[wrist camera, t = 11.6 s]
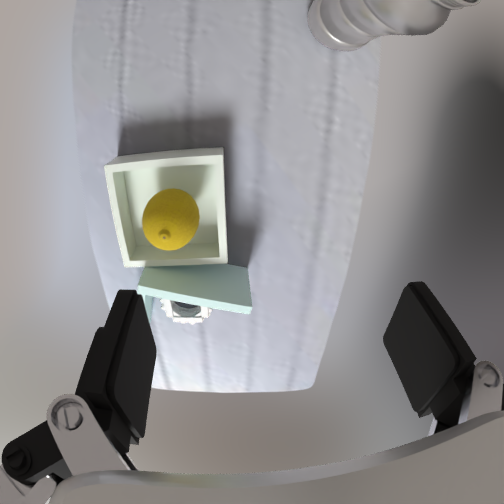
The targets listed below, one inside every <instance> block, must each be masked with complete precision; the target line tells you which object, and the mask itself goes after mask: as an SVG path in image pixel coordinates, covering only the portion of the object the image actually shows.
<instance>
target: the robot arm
mask: <svg viewBox="0 0 504 504" xmlns="http://www.w3.org/2000/svg"><path fill="white" fill-rule="evenodd" d="M383 342H384V345H385V347H386V349H387V351H388V354H389V356H390V358H391V360H392V362H393V364H394V367H395V369H396V371H397V373H398V375H399V378H400V380H401V382H402V384H403V387H404V389H405V391H406V393H407V396H408V398H409V401H410V403H411V405H412V408H413V410H414V411H416V412H417V413H418V416H419V418H420V417H423V416H426V415H429V414H431V413H433V415H434V418H433V421H432V425H431V428H430V431H429V434H428V437H425V438H423V439H420V440H417V441H414V442H411V443H408V444H405V445H402V446H399V447H396V448H392V449H389V450H385V451H382V452H378V453H375V454H371V455H367V456H363V457H359V458H354V459H350V460H346V461H340V462H335V463H330V464H325V465H319V466H313V467H306V468H299V469H292V470H284V471H273V472H262V473H247V474H246V473H245V474H181V473H180V474H179V473H164V472H147V471H139V469H138V468H137V467H136V465H135V464H134V463H133V461H132V460H131V458H130V457H129V456H128V454H127V452H129V446H130V444H136V445H138V444H139V438H143V437H144V434H145V428H146V419H147V411H148V404H149V398H150V391H151V385H152V378H153V372H154V366H155V360H156V345H155V342H154V338H153V335H152V331H151V327H150V324H149V320H148V316H147V312H146V308H145V304H144V300H143V297H142V295H141V294H137V291H136V290H119V291H118V292H117V295H116V297H115V300H114V302H113V305H112V308H111V310H110V313H109V315H108V318H107V321H106V324H105V326H104V327H99V328H98V329H97V331H96V333H95V336H94V339H93V341H92V344H91V347H90V350H89V353H88V355H87V358H86V361H85V364H84V367H83V370H82V373H81V376H80V379H79V382H78V386H77V389H76V392H75V395H74V394H64V395H62V396H59V397H57V398H56V399H54V400H53V402H52V403H51V404H50V406H49V408H48V410H47V420H46V421H45V422H43V423H41V424H40V425H38V426H36V427H35V428H33V429H31V430H30V431H28V432H26V433H25V434H23V435H21V436H19V437H18V438H16V439H14V440H13V441H11V442H10V443H8V444H7V445H6V446H5V448H4V450H3V453H2V465H1V466H0V504H45V503H46V501H47V500H48V499H49V498H50V497H51V499H50V502H49V504H504V384H503V378H502V374H501V372H500V370H499V369H498V367H497V366H495V365H494V364H493V363H491V362H489V361H480V362H478V363H477V364H476V366H475V365H474V361H475V360H476V357H475V355H474V354H473V352H472V351H471V349H470V347H469V346H468V344H467V343H466V341H465V340H464V338H463V336H462V335H461V333H460V332H459V330H458V329H457V327H456V326H455V324H454V323H453V321H452V320H451V318H450V317H449V316H448V314H447V313H446V311H445V310H444V309H443V307H442V306H441V304H440V303H439V301H438V300H437V299H436V297H435V296H434V295H433V293H432V292H431V291H430V289H429V288H428V287H427V285H426V284H425V283H424V282H422V281H421V282H410V283H408V285H407V286H406V287H405V288H404V289H403V292H402V294H401V297H400V299H399V302H398V304H397V307H396V309H395V311H394V314H393V316H392V318H391V320H390V323H389V325H388V327H387V329H386V332H385V334H384V336H383Z"/></svg>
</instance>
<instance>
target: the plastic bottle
mask: <svg viewBox="0 0 504 504" xmlns="http://www.w3.org/2000/svg"><path fill="white" fill-rule="evenodd" d="M480 1H481V0H314V1H313V2H312V4H311V6H310V9H309V12H308V20H307V21H308V26H309V28H310V31H311V33H312V34H313V36H314V37H315V38H316V39H317V40H318V41H319V42H320V43H321V44H322V45H324V46H326V47H327V48H330V49H333V50H338V51H354V50H357V49H359V48H361V47H363V46H364V45H366V44H367V43H368V42H369V41H371V40H373V39H375V38H377V37H380V36H386V35H412V36H413V35H427V34H430V33H433V32H434V31H436V30H437V29H438V28H440V27H441V26H442V25H443V24H444V23H445V22H446V21H447V18H448V16H449V14H450V11H451V10H458V9H462V8H463V7H467V6H474V5H477V4H478V3H480Z"/></svg>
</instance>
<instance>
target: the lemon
mask: <svg viewBox="0 0 504 504" xmlns="http://www.w3.org/2000/svg"><path fill="white" fill-rule="evenodd" d="M199 219H200V215H199V209H198V206H197V204H196V201H195V200H194V199H193V198H192V196H191V195H189V194H188V193H187V192H185V191H183V190H181V189H175V188H171V189H165V190H162V191H160V192H158V193H157V194H155V195H154V196H153V197H152V198H151V199H150V200H149V201H148V203H147V205H146V207H145V209H144V211H143V217H142V227H143V231H144V234H145V237H146V238H147V240H148V241H149V242H150V243H151V244H152V245H153V246H155V247H157V248H159V249H162V250H168V251H171V250H177V249H179V248H182V247H183V246H185V245H186V244H187V243H189V241H190V240H191V239H192V238H193V237H194V235H195V233H196V231H197V229H198V226H199Z"/></svg>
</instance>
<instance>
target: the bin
mask: <svg viewBox="0 0 504 504" xmlns="http://www.w3.org/2000/svg"><path fill="white" fill-rule="evenodd" d="M104 169H105V175H106V181H107V187H108V193H109V199H110V204H111V209H112V214H113V219H114V224H115V229H116V233H117V238H118V242H119V246H120V250H121V255H122V259H123V263H124V267H151V266H177V265H202V264H226V263H228V249H227V226H226V203H225V178H224V149H223V147H214V148H196V149H182V150H170V151H159V152H150V153H141V154H132V155H124V156H117V157H116V158H114V159H113V160H112V161H110V162H109V163H107V164H106V165H104ZM171 188H175V189H181V190H183V191H185V192H187V193H188V194H189V195H191V196H192V198H193V199H194V200H195V201H196V204H197V206H198V209H199V215H200V219H199V226H198V229H197V231H196V233H195V235H194V237H193V238H192V239H191V240H190V241H189V243H187V244H186V245H185V246H183V247H182V248H179V249H177V250H171V251H168V250H162V249H159V248H157V247H155V246H153V245H152V244H151V243H150V242H149V241H148V240H147V238H146V237H145V234H144V231H143V227H142V217H143V211H144V209H145V207H146V205H147V203H148V201H149V200H150V199H151V198H152V197H153V196H154V195H155V194H157V193H158V192H160V191H162V190H165V189H171Z"/></svg>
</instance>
